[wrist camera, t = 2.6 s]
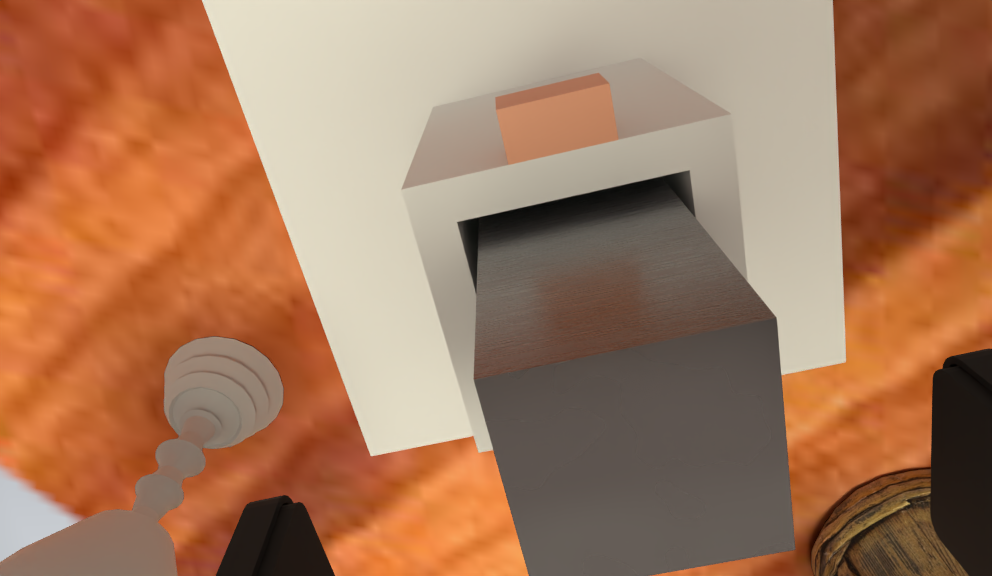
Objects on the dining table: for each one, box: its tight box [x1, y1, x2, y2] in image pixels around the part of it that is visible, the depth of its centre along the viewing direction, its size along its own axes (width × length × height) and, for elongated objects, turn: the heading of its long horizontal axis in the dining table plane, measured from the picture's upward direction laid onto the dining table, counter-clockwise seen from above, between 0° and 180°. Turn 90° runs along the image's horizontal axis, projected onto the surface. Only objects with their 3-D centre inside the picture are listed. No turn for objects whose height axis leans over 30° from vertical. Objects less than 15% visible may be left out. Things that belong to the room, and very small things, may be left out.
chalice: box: [0, 337, 284, 576], centre depth 23 cm, size 7×7×18 cm
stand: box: [202, 0, 846, 456], centre depth 22 cm, size 20×20×12 cm
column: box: [473, 176, 795, 576], centre depth 19 cm, size 4×4×16 cm
